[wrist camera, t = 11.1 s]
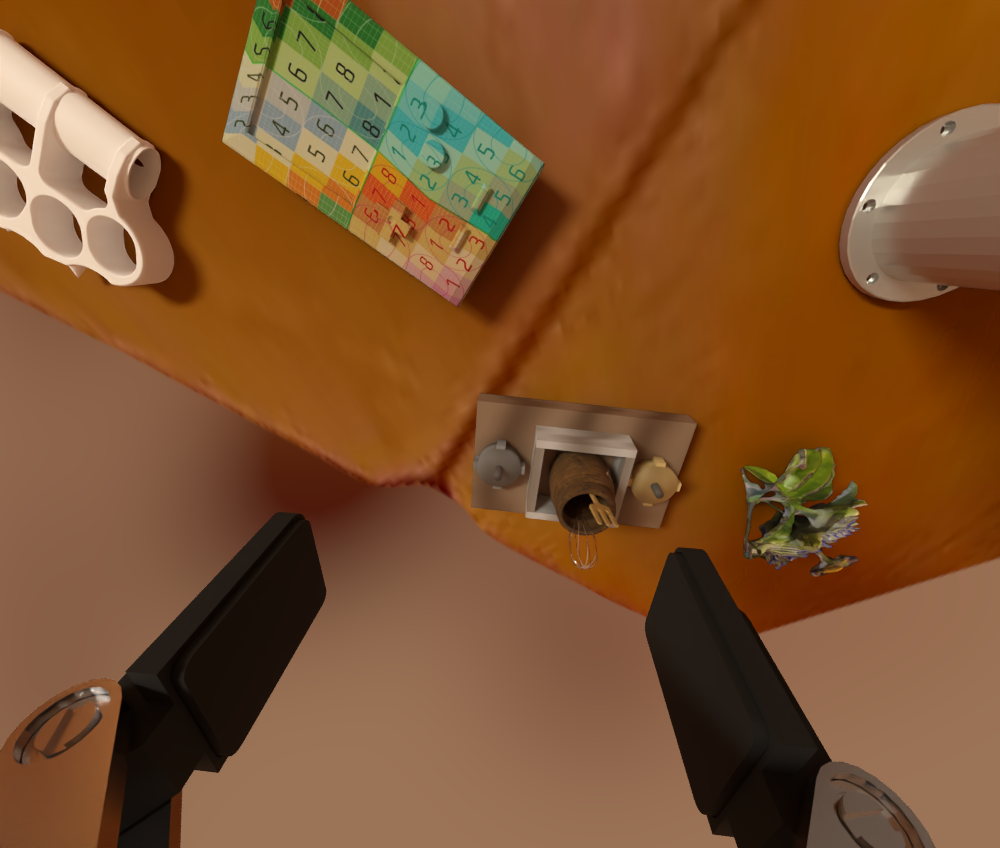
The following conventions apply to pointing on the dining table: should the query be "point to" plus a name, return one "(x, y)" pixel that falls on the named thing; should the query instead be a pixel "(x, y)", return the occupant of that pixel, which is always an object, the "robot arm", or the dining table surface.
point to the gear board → (578, 428)
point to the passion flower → (802, 512)
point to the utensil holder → (582, 494)
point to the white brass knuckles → (76, 176)
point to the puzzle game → (376, 140)
